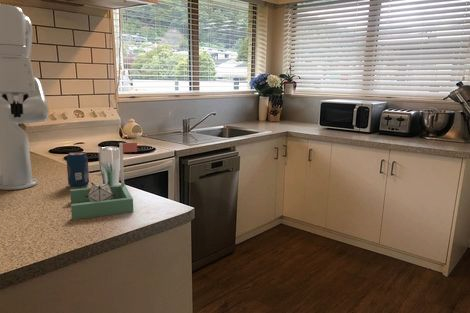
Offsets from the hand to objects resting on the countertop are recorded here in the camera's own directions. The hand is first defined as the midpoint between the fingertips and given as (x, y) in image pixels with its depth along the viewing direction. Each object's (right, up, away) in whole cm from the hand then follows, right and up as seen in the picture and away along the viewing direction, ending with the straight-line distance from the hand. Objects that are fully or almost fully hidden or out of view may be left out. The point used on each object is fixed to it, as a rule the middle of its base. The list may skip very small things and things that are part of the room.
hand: (17, 116), depth 107 cm
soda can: (+8, -22, +24) cm, 34 cm away
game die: (+24, -27, +2) cm, 37 cm away
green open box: (+25, -27, +4) cm, 37 cm away
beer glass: (+21, -24, +20) cm, 37 cm away
